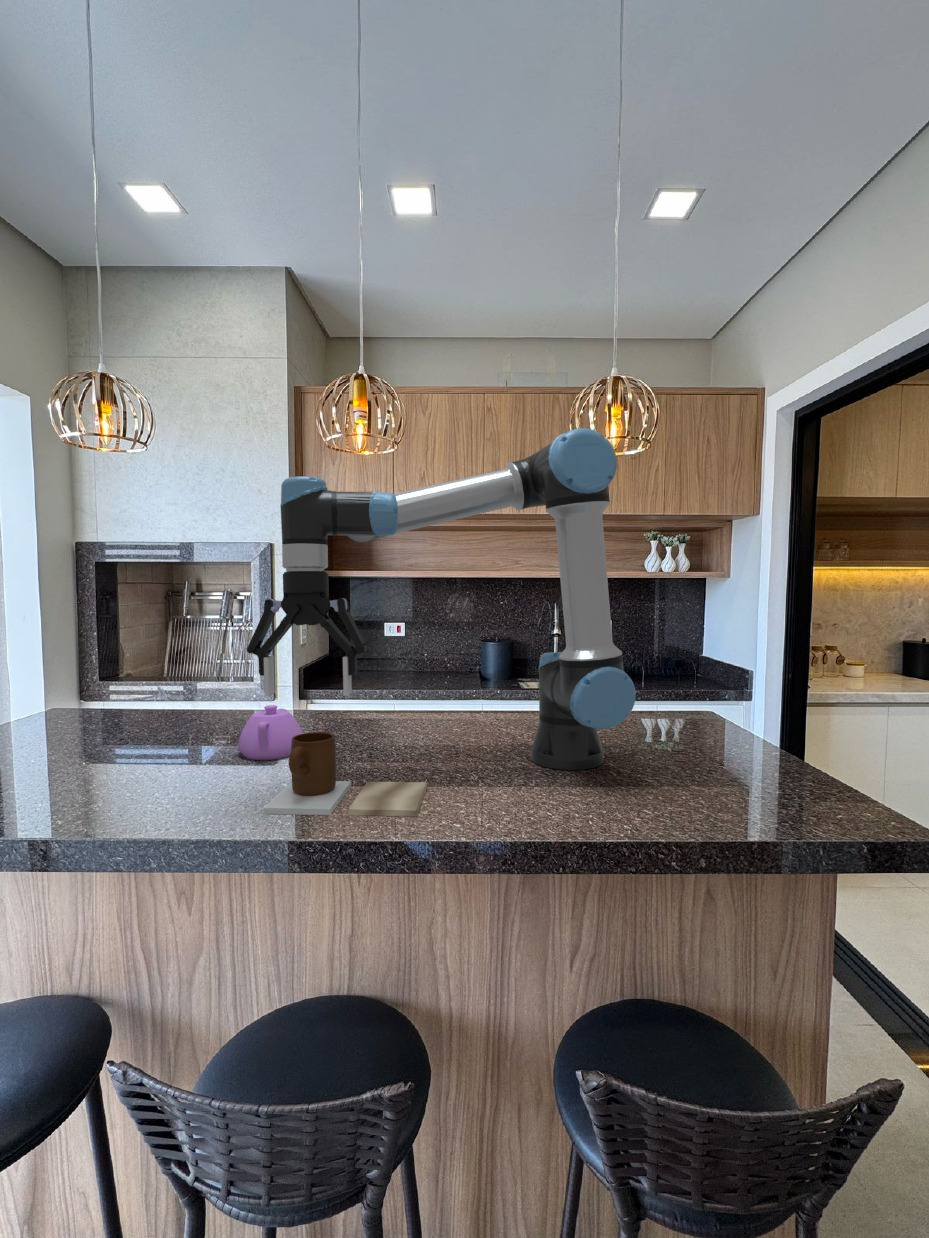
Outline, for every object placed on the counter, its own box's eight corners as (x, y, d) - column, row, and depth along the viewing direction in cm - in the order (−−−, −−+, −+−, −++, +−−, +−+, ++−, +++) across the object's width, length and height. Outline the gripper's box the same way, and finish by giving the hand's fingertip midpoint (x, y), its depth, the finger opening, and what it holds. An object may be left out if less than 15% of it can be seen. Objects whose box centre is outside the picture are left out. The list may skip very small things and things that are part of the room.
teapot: (312, 740, 147) (311, 696, 146) (294, 764, 127) (293, 713, 126) (253, 741, 146) (252, 697, 145) (227, 766, 126) (225, 715, 126)
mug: (314, 807, 99) (312, 750, 98) (271, 804, 100) (269, 747, 100) (342, 783, 111) (341, 732, 110) (303, 781, 112) (302, 730, 112)
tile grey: (351, 786, 112) (351, 781, 112) (330, 815, 98) (329, 808, 98) (292, 785, 113) (292, 780, 113) (263, 813, 99) (263, 807, 99)
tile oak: (426, 787, 111) (426, 782, 111) (416, 816, 97) (416, 810, 97) (367, 786, 112) (367, 781, 112) (348, 815, 98) (348, 809, 98)
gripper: (382, 570, 106) (384, 690, 108) (243, 571, 108) (246, 690, 109) (373, 568, 99) (376, 698, 100) (224, 570, 100) (228, 698, 102)
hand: (308, 694), depth 105 cm, fingers open, 13 cm apart
